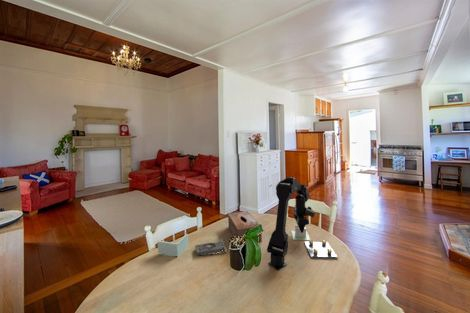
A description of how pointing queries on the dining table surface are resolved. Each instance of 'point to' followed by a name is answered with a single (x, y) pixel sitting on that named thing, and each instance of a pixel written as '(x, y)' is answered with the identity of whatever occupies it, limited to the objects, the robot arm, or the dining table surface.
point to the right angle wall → (173, 247)
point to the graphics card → (210, 248)
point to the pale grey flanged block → (300, 234)
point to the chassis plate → (320, 250)
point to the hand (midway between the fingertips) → (300, 229)
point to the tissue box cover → (242, 223)
